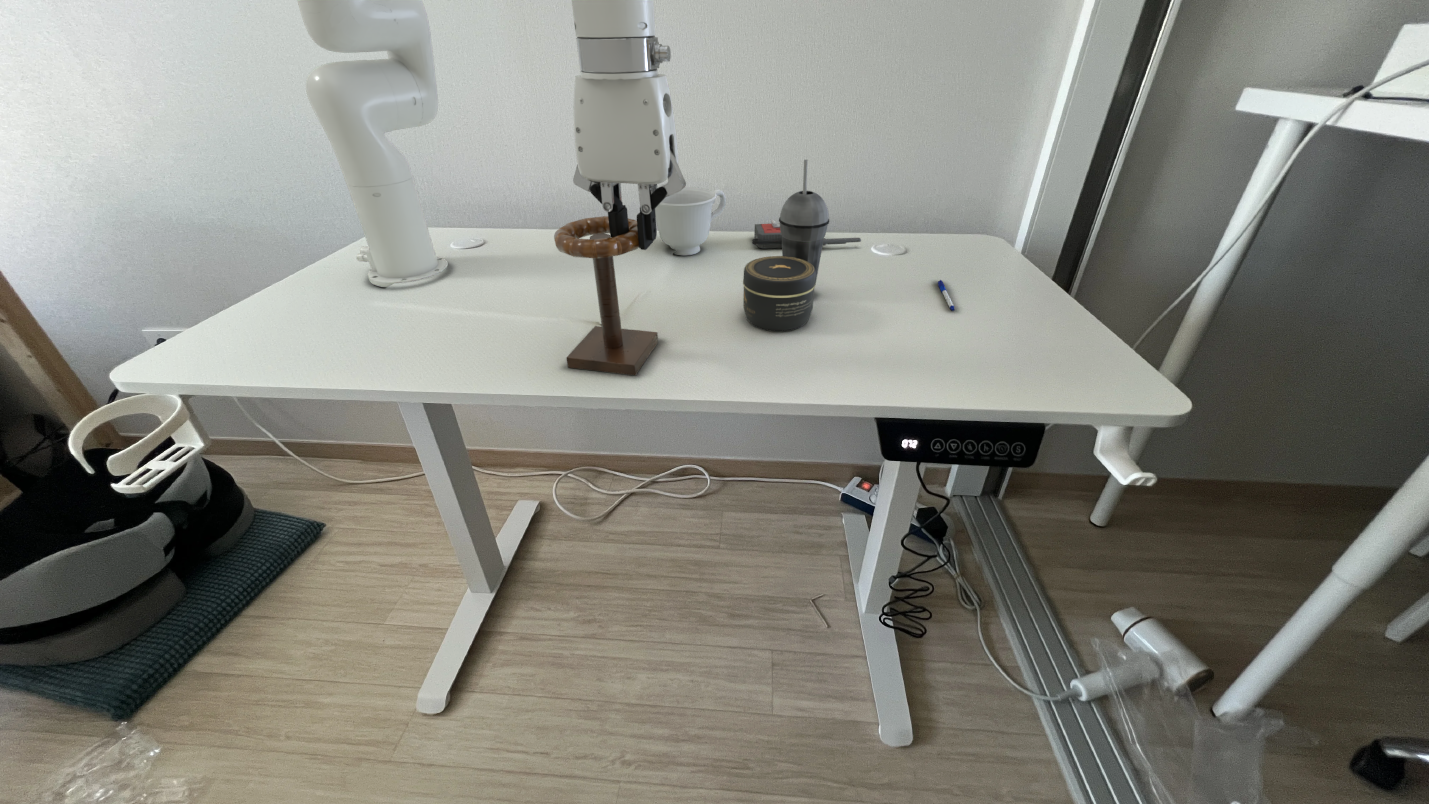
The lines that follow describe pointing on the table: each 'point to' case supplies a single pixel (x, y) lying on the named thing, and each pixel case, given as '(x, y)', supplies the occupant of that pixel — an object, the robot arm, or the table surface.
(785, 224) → the beverage cup
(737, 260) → the table surface
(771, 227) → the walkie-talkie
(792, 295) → the jar
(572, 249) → the ring
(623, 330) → the post
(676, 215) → the teacup
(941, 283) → the blue marker pen
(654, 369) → the table surface
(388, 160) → the robot arm
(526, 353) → the table surface
